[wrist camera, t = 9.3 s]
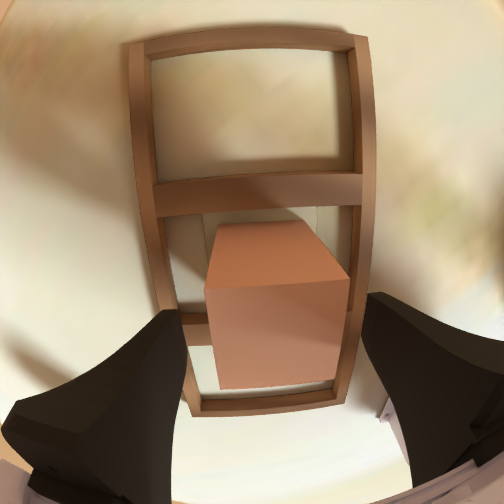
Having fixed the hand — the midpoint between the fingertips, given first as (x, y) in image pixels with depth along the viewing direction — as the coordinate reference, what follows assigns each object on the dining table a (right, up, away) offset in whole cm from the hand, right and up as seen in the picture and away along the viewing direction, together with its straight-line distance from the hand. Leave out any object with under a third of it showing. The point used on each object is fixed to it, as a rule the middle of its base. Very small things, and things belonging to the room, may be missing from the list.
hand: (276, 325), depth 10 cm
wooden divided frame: (0, +2, +6) cm, 6 cm away
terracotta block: (0, +2, +5) cm, 6 cm away
